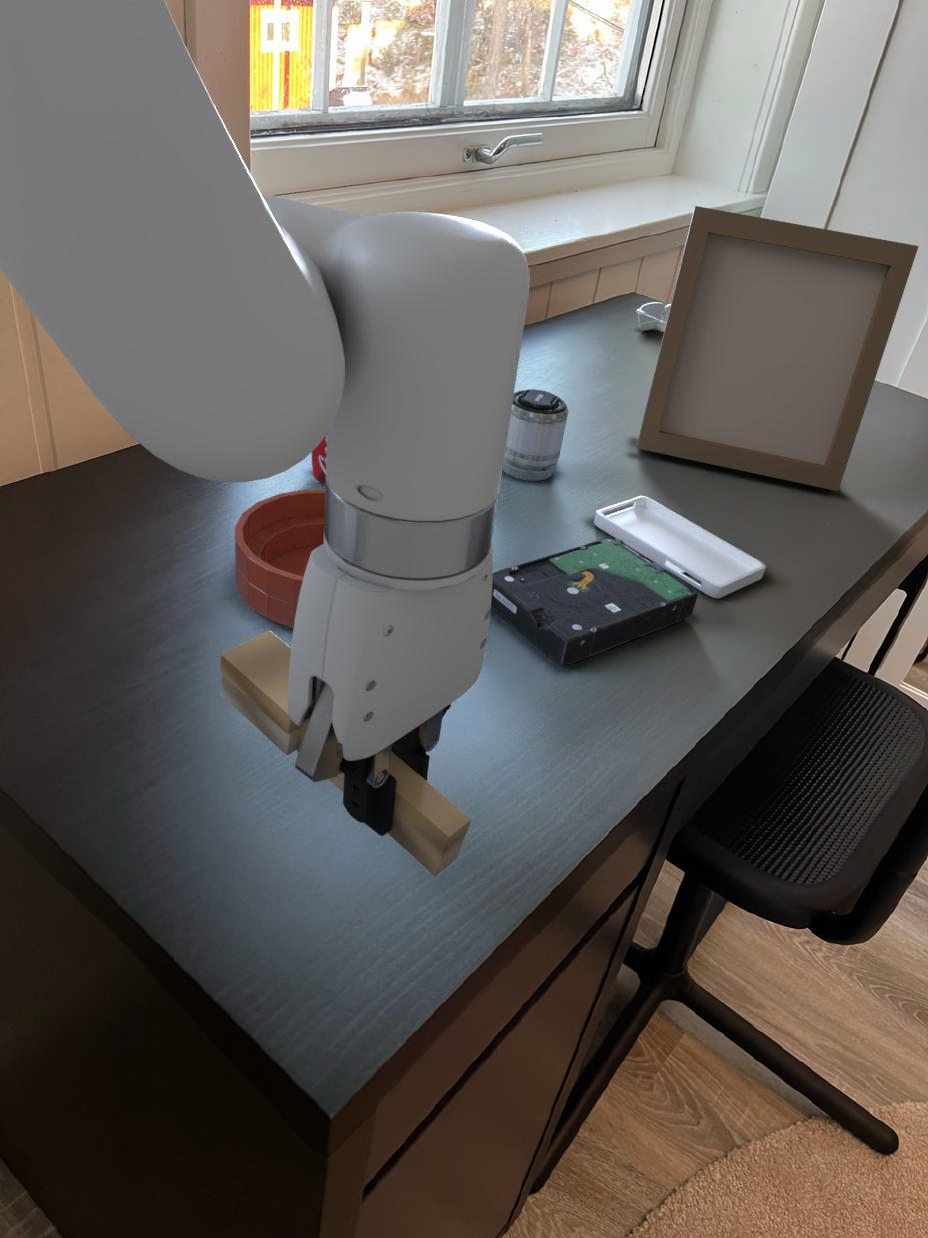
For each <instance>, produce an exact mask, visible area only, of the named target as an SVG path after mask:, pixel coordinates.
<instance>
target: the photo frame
mask: <svg viewBox="0 0 928 1238" xmlns="http://www.w3.org/2000/svg"><path fill="white" fill-rule="evenodd" d="M919 246H920V245H915V244H911V243H905V242H899V241H893V240H887V239H881V238H876V237H870V236H864V235H859V234H854V233H849V232H843V231H837V230H831V229H826V228H821V227H816V226H810V225H804V224H797V223H792V222H787V221H781V220H776V219H770V218H765V217H759V216H754V215H748V214H743V213H737V212H732V211H725V210H720V209H715V208H709V207H705V206H698V205H695V206H694V209H693V212H692V216H691V220H690V225H689V229H688V233H687V236H686V241H685V246H684V249H683V254H682V258H681V262H680V266H679V270H678V274H677V278H676V282H675V286H674V290H673V294H672V300H671V303H670V304H671V307H669V311H668V315H667V320H666V323H665V327H664V331H663V336H662V340H661V344H660V348H659V352H658V357H657V360H656V365H655V369H654V373H653V377H652V381H651V385H650V388H649V394H648V397H647V398H648V399H647V401H646V406H645V410H644V414H643V418H642V422H641V426H640V430H639V434H638V438H637V442H636V443H637V444H636V449H637V450H643V451H648V452H652V453H656V454H657V453H658V454H663V455H667V456H672V457H676V458H680V459H684V460H685V459H686V460H690V461H695V462H699V463H704V464H709V465H714V466H718V467H723V468H727V469H732V470H737V471H742V472H746V473H751V474H755V475H761V476H766V477H770V478H774V479H780V480H784V481H789V482H794V483H799V484H803V485H807V486H812V487H817V488H821V489H827V490H831V491H835V492H839V491H840V487H841V484H842V481H843V478H844V475H845V472H846V469H847V467H848V462H849V459H850V457H851V454H852V450H853V447H854V445H855V441H856V438H857V435H858V433H859V429H860V426H861V423H862V420H863V417H864V414H865V411H866V408H867V404H868V402H869V398H870V395H871V393H872V390H873V387H874V384H875V381H876V378H877V375H878V372H879V368H880V365H881V363H882V360H883V356H884V353H885V350H886V346H887V344H888V341H889V338H890V336H891V335H890V334H891V332H892V329H893V325H894V323H895V319H896V317H897V313H898V311H899V307H900V305H901V302H902V298H903V295H904V292H905V289H906V286H907V283H908V280H909V277H910V274H911V271H912V268H913V265H914V262H915V259H916V255H917V254H918V250H919Z"/></svg>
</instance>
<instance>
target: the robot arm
mask: <svg viewBox="0 0 928 1238" xmlns="http://www.w3.org/2000/svg"><path fill="white" fill-rule="evenodd" d="M527 260H528V259H527V257H526V255H525V252H524V251H523V249H522V247H521V246H520V244H518V243H517V242H516V241H515V239H513V238H512V237H511V236H510V235H508V234H507V233H505V232H503V231H501V230H499V229H497V228H495V227H493V226H491V225H488V224H485V223H483V222H480V221H476V220H472V219H468V218H464V217H459V216H456V215H455V216H454V215H449V214H448V215H447V214H442V213H432V212H423V211H421V212H419V211H393V212H383V213H378V214H374V215H367V214H361V213H354V212H350V211H345V210H339V209H333V208H328V207H323V206H319V205H314V204H310V203H305V202H301V201H297V200H293V199H289V198H286V197H281V196H277V195H273V194H268V193H265V192H261V191H260V189H259V188H258V186H257V184H256V182H255V180H254V178H253V177H252V174H251V172H250V171H249V169H248V167H247V166H246V164H245V162H244V160H243V158H242V155H241V154H240V152H239V150H238V148H237V147H236V144H235V142H234V140H233V139H232V136H231V134H230V133H229V131H228V129H227V127H226V125H225V123H224V120H223V119H222V117H221V115H220V113H219V111H218V109H217V108H216V105H215V104H214V101H213V100H212V98H211V95H210V94H209V91H208V90H207V87H206V85H205V84H204V81H203V79H202V77H201V75H200V73H199V71H198V69H197V66H196V65H195V63H194V61H193V59H192V57H191V54H190V52H189V49H188V48H187V46H186V44H185V42H184V39H183V37H182V35H181V33H180V31H179V29H178V26H177V24H176V22H175V20H174V18H173V16H172V13H171V12H170V9H169V6H168V3H167V2H166V0H0V270H1V272H2V273H3V275H4V276H5V278H6V279H7V281H8V282H9V283H10V285H11V287H13V289H14V290H15V292H16V293H17V294H18V296H19V297H20V299H21V300H22V301H23V303H24V304H25V305H26V306H27V308H28V309H29V310H30V312H31V313H32V315H33V316H34V318H35V319H36V320H37V321H38V322H39V324H40V325H41V327H42V328H43V329H44V330H45V332H46V333H47V334H48V336H49V337H50V339H51V340H52V341H53V342H54V344H55V345H56V346H57V348H58V349H59V350H60V352H61V353H62V355H64V357H65V358H66V359H67V361H68V362H69V364H70V365H71V366H72V368H73V369H74V370H75V372H76V373H77V374H78V375H79V377H80V378H81V380H83V382H84V383H85V385H86V387H88V388H89V390H90V391H91V392H92V394H93V395H94V397H95V398H96V399H97V400H98V402H99V403H100V404H101V405H102V407H104V409H105V410H106V411H107V413H108V414H109V415H110V416H111V417H112V419H114V420H115V421H116V422H117V424H119V426H120V427H121V428H122V429H123V430H124V431H125V432H126V433H127V434H128V435H129V436H130V437H131V438H132V439H133V440H135V441H136V442H137V443H138V444H140V445H141V446H142V447H143V448H145V449H146V450H147V451H148V452H150V454H152V455H153V456H155V457H156V458H157V459H159V460H161V461H163V462H165V463H166V464H168V465H169V466H171V467H173V468H174V469H177V470H179V471H181V472H184V473H186V474H189V475H191V476H193V477H197V478H198V479H203V480H204V479H205V480H209V481H214V482H219V483H248V482H254V481H259V480H260V481H261V480H266V479H269V478H272V477H274V476H276V475H278V474H281V473H284V472H287V471H289V470H290V469H291V468H293V467H294V466H296V465H297V464H299V463H301V462H303V461H304V460H305V459H306V458H307V457H308V456H309V455H310V454H311V452H312V451H313V450H314V449H315V448H316V447H317V446H318V445H319V444H320V442H321V441H322V440H323V438H324V437H325V435H326V434H327V459H326V483H325V486H324V489H325V513H324V544H322V545H320V546H319V547H317V548H316V549H314V550H313V551H312V552H311V555H310V558H309V561H308V564H307V567H306V571H305V574H304V578H303V582H302V586H301V590H300V594H299V599H298V604H297V610H296V615H295V622H294V628H292V637H291V647H290V648H291V655H290V666H289V679H288V714H289V718H290V719H291V720H292V721H293V722H294V723H295V724H296V725H298V726H299V727H300V726H302V725H304V724H305V723H307V722H309V724H308V727H307V730H306V733H305V736H304V739H303V742H302V745H301V748H300V751H299V752H298V753H297V757H296V760H295V763H294V768H295V769H296V770H297V771H299V773H301V774H303V775H304V776H305V777H306V778H307V779H309V780H311V781H312V782H313V783H319V782H322V781H325V780H329V778H333V777H337V775H338V774H340V773H344V791H343V792H342V805H343V807H344V809H345V810H346V812H347V814H348V815H350V817H352V818H353V819H354V820H355V821H357V822H358V823H360V824H365V825H366V826H367V827H369V828H370V829H371V830H372V831H374V832H375V833H376V834H378V835H379V836H381V837H383V836H385V835H386V834H388V832H389V831H390V830H391V828H392V819H393V809H394V799H395V791H396V784H397V782H396V779H395V778H394V777H393V776H392V775H391V774H389V773H390V762H391V751H392V752H393V753H394V754H395V755H396V756H397V757H399V758H400V759H401V760H402V761H403V762H404V763H406V764H407V765H408V766H409V767H410V768H411V769H413V770H414V771H415V772H416V773H417V774H419V775H420V776H421V777H423V778H424V779H425V780H426V781H427V782H428V773H429V767H430V766H429V765H430V759H431V758H430V757H431V756H430V755H429V754H427V753H430V752H431V751H432V750H433V749H434V748H436V746H437V745H438V743H439V741H440V737H441V730H442V725H443V724H442V723H443V718H444V717H445V715H446V713H447V712H448V710H449V709H451V708H452V703H454V702H455V701H456V700H458V699H459V698H461V697H462V696H463V695H464V694H465V693H467V692H468V691H469V690H470V689H471V688H472V687H473V686H474V685H475V683H476V682H477V680H478V679H479V677H480V674H481V671H482V668H483V663H484V660H485V659H484V658H485V655H486V648H487V642H488V638H489V637H488V636H489V630H490V623H491V622H490V621H491V611H492V610H491V609H492V607H491V599H492V576H493V572H494V571H493V568H494V567H493V566H494V565H493V564H494V560H493V557H494V556H493V535H494V527H495V522H496V515H497V508H498V502H499V496H500V495H499V494H500V488H501V483H502V477H503V470H502V469H503V463H504V456H505V449H506V443H507V436H508V430H509V423H510V416H511V410H512V403H513V396H514V393H515V390H516V382H517V376H518V369H519V363H520V355H521V348H522V342H523V335H524V328H525V322H526V316H527V310H528V304H529V303H528V302H529V293H530V280H531V278H530V277H531V275H530V268H529V264H528V261H527Z"/></svg>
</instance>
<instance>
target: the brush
mask: <svg viewBox="0 0 928 1238" xmlns="http://www.w3.org/2000/svg"><path fill="white" fill-rule="evenodd" d="M290 655H291V647H290V645H288V644H287V643H286V642H285V641H283V640H282V639H281V638H280V637H279V636H277V635H276V634H275V633H274V632H273V631H272V630H271V629H268V630H265V631H264V632H262V633H260V634H259V635H256V636H254V637H253V638H250V639H248V640H247V641H244V642H242V643H240V644H238V645H237V646H234V647H231V648H230V649H228V650H227V651H224V652H222V653H221V654H220V663H219V674H221V685H220V696H221V697H222V698H223V699H225V701H226V702H228V703H229V704H230V705H231V706H232V707H233V708H234V709H235V710H236V711H238V712H239V713H240V714H241V715H242V716H243V717H244V718H245V719H246V720H247V721H249V722H250V723H251V724H252V726H254V727H255V728H256V729H257V730H258V731H259V732H261V733H262V734H263V735H264V736H265V737H266V738H267V739H268V740H269V741H270V742H271V743H273V744H274V745H275V746H276V748H278V749H279V750H280V751H281V752H282V753H284V754H285V755H286V756H289V755H290V754H292V753H294V752H295V751H297V752H298V753H299V751H300V748H301V745H302V742H303V739H304V736H305V733H306V730H307V727H308V724H309V722H307V723H305V724H304V725H302V726H300V727H299V726H298V725H296V724H295V723H294V722H293V721H292V720H291V719H290V718H289V714H288V679H289V666H290ZM389 774H391V775H392V776H393V777H394V778H395V779H396V782H397V784H396V791H395V799H394V809H393V819H392V828H391V830H390V831H389V832H388V833H387V834H388V835H389V836H390V837H391V838H392V839H393V840H394V841H395V842H397V843H398V844H399V845H400V846H401V847H402V848H403V849H404V850H405V851H406V852H407V853H409V854H410V855H411V856H412V857H413V858H414V859H415V860H416V861H417V862H418V863H420V865H422V866H423V867H424V868H425V869H426V870H427V871H428V872H429V873H431V874H432V875H433V876H434V877H437V876H438V875H439V874H441V872H442V871H444V870H445V869H446V868H447V867H449V866H450V865H451V864H453V862H454V861H455V860H457V858H458V856H459V853H460V851H461V848H462V845H463V842H464V840H465V837H466V836H467V833H468V829H469V827H470V824H471V821H472V818H470V817H469V816H468V815H467V814H466V813H465V812H463V811H462V810H461V809H460V808H459V807H458V806H456V805H455V804H454V802H451V800H450V799H448V798H447V797H446V796H445V795H444V794H443V793H441V792H440V791H439V790H438V789H437V788H436V787H434V786H433V785H432V784H431V783H430V782H428V780H427V781H426V780H425V779H424V778H423V777H421V776H420V775H419V774H417V773H416V772H415V771H414V770H413V769H411V768H410V767H409V766H408V765H407V764H406V763H404V762H403V761H402V760H401V759H400V758H399V757H397V756H396V755H395V754H394V753H393V752H392V751H391V762H390V773H389ZM328 781H329V782H330V783H331V784H333V785H334V786H335V787H336V788H337V789H338V790H339V791H341V792H342V793H343V791H344V773H340V774H338V775H337V777H333V778H329V779H328Z"/></svg>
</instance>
